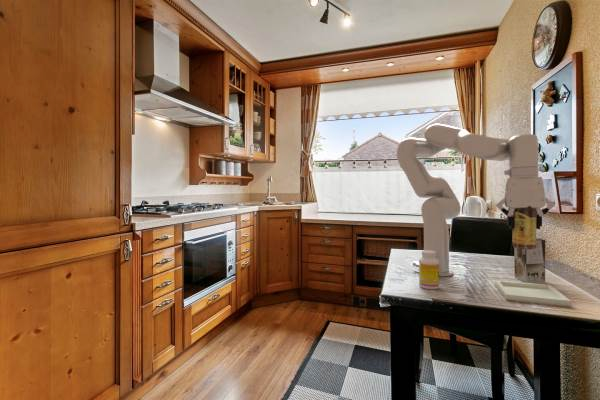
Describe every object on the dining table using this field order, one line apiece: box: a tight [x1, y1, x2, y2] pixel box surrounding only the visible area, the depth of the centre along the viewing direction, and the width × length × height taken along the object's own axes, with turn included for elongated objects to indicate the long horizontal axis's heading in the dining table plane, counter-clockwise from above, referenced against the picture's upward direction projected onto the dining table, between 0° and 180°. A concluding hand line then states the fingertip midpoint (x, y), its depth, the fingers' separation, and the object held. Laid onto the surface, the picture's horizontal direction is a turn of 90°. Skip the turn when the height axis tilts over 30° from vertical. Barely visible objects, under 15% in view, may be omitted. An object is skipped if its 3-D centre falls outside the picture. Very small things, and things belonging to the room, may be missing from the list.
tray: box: [494, 279, 572, 308], centre depth 98 cm, size 16×16×2 cm
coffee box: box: [513, 237, 546, 284], centre depth 113 cm, size 9×6×16 cm
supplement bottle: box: [418, 249, 440, 290], centre depth 108 cm, size 7×7×13 cm
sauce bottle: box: [511, 206, 537, 249], centre depth 98 cm, size 6×6×20 cm
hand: (524, 228), depth 98 cm, fingers closed on sauce bottle, 6 cm apart
